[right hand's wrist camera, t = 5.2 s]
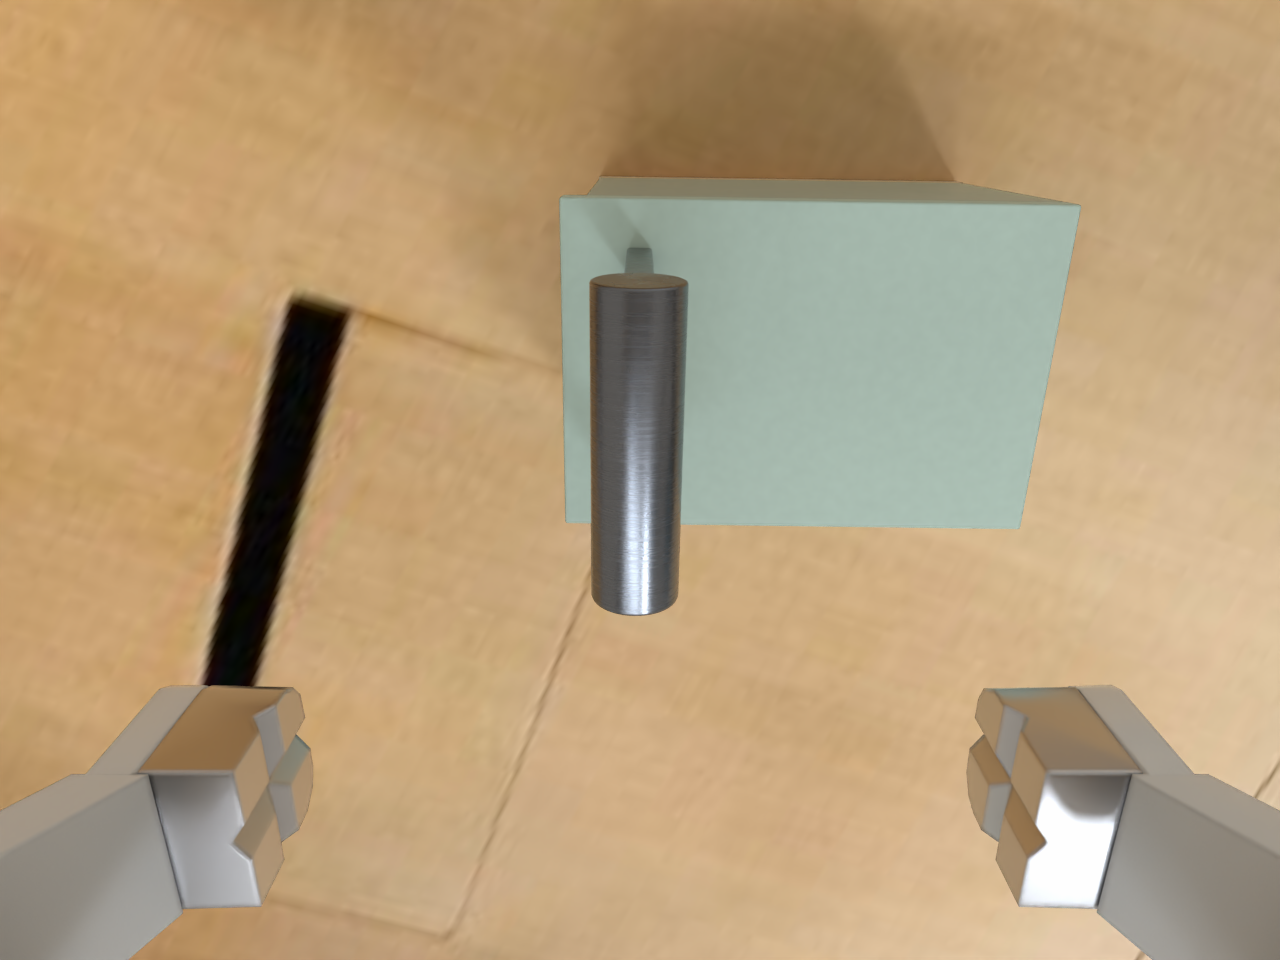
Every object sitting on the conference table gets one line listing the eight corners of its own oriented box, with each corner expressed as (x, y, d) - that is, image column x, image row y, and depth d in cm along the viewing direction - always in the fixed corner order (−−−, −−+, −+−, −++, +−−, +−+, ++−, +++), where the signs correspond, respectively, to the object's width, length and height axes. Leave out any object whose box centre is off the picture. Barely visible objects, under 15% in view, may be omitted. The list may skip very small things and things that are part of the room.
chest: (600, 419, 37) (587, 512, 28) (599, 176, 34) (584, 194, 25) (921, 424, 37) (1008, 517, 28) (955, 181, 34) (1067, 201, 25)
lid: (567, 512, 28) (539, 658, 21) (561, 194, 25) (524, 226, 17) (1009, 518, 28) (1148, 666, 21) (1068, 202, 25) (1262, 237, 17)
